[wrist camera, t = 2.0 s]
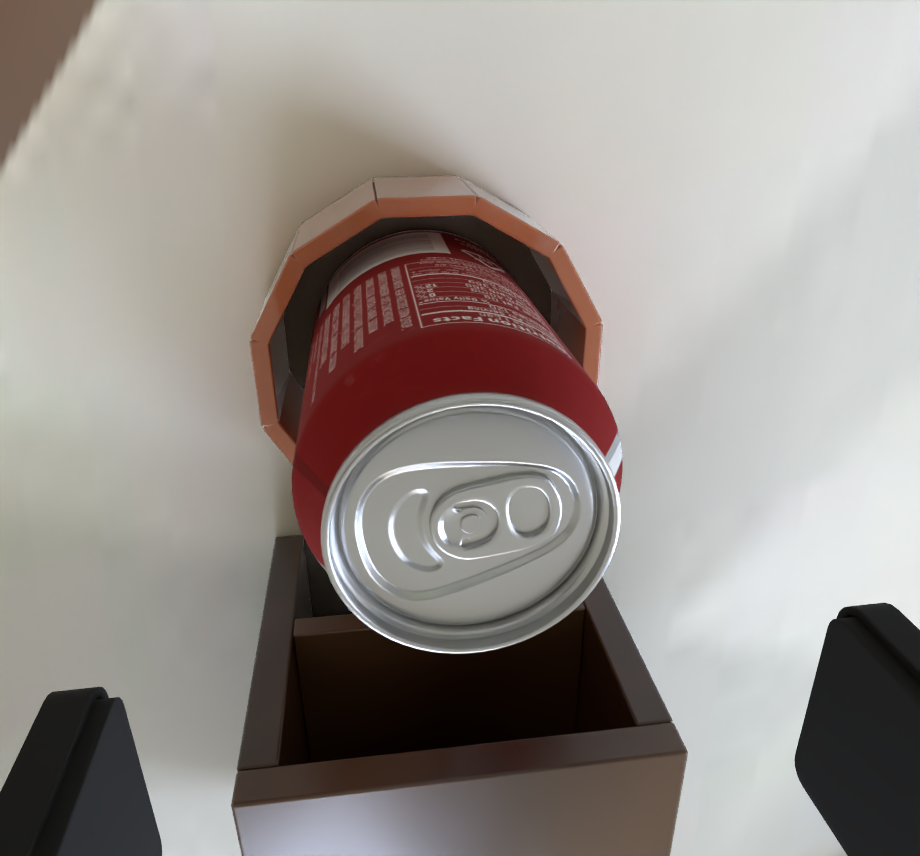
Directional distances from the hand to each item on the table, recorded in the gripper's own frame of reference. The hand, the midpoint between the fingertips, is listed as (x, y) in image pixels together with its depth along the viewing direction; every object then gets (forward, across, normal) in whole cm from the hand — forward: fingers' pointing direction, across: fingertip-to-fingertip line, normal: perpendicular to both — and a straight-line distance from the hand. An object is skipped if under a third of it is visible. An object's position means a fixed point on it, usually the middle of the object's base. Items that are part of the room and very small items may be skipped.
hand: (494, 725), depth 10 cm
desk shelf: (+16, 0, +14) cm, 21 cm away
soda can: (+16, -1, 0) cm, 16 cm away
